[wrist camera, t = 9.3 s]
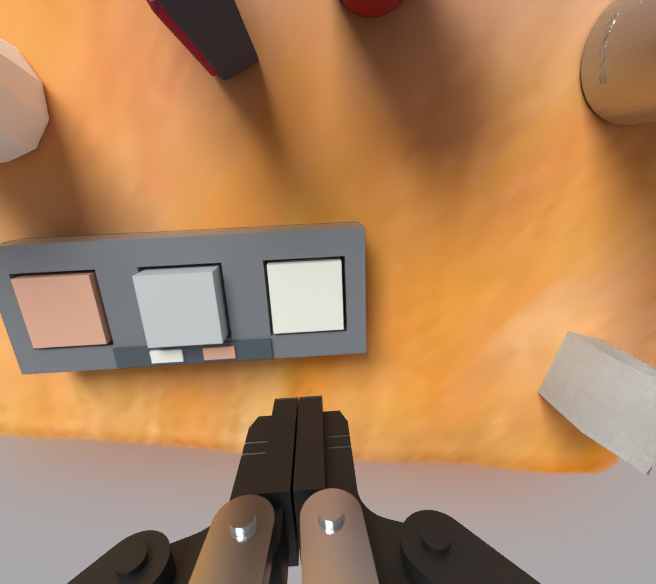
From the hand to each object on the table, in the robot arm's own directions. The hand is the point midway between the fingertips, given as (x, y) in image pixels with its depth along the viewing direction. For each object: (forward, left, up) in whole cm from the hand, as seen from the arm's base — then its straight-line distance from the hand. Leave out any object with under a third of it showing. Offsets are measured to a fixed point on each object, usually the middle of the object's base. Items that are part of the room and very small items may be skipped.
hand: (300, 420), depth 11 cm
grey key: (+9, +1, -17) cm, 19 cm away
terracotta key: (+18, +1, -18) cm, 26 cm away
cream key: (0, +1, -18) cm, 18 cm away
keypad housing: (+9, +1, -20) cm, 21 cm away
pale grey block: (-25, +11, -20) cm, 34 cm away
